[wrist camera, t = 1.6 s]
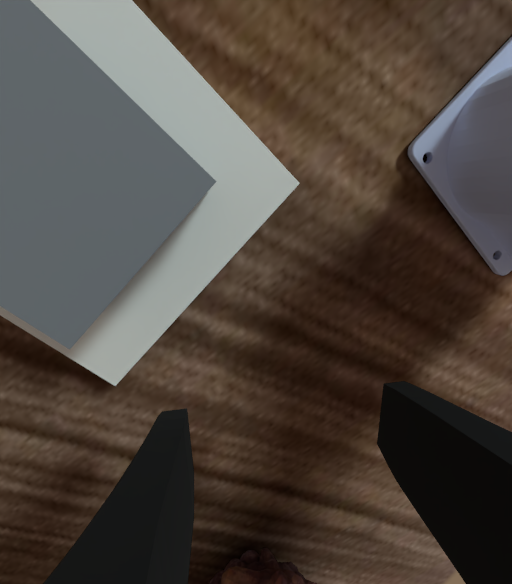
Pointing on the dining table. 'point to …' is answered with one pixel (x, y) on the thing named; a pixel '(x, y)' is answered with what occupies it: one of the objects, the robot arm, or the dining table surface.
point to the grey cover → (77, 179)
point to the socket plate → (200, 146)
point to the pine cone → (259, 570)
